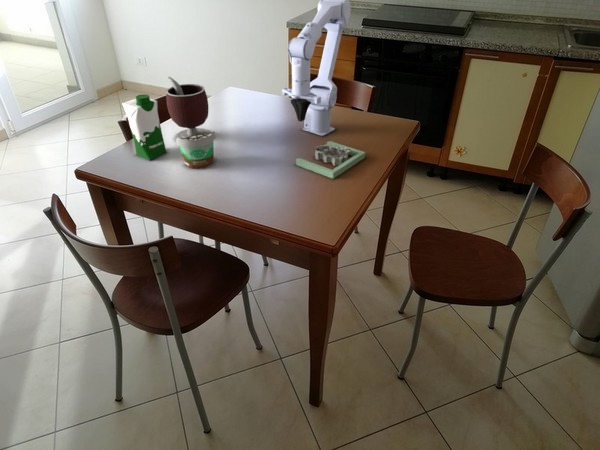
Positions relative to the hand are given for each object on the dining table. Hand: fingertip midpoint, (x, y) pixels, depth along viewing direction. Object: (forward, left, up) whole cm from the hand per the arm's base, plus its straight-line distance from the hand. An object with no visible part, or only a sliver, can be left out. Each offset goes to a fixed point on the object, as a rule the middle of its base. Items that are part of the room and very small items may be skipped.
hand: (301, 120), depth 141 cm
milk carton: (-36, -36, -10) cm, 52 cm away
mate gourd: (-37, -18, -10) cm, 42 cm away
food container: (-16, -31, -10) cm, 36 cm away
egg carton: (+14, -2, -10) cm, 17 cm away
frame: (+14, -3, -9) cm, 17 cm away
